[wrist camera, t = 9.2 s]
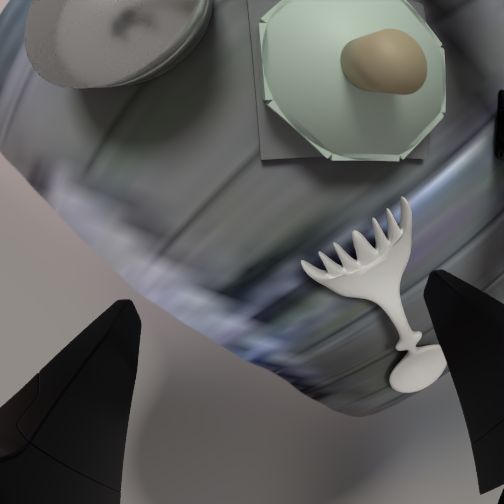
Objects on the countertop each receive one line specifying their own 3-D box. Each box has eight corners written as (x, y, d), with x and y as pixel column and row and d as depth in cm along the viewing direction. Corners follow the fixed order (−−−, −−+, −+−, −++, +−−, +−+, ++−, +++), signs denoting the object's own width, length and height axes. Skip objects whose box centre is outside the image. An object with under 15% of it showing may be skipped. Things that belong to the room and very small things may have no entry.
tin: (209, -57, 9) (200, -94, 4) (220, 69, 14) (211, 60, 10) (68, -14, 9) (29, -28, 5) (74, 104, 14) (30, 115, 10)
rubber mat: (418, 5, 11) (423, 4, 10) (422, 157, 17) (426, 159, 17) (245, -17, 11) (245, -20, 10) (260, 157, 17) (261, 160, 17)
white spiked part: (389, 179, 18) (413, 197, 16) (445, 359, 33) (454, 376, 30) (289, 243, 21) (297, 271, 18) (395, 388, 35) (402, 406, 32)
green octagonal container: (421, 7, 10) (472, -5, 6) (424, 155, 16) (474, 182, 12) (251, -17, 10) (256, -57, 6) (266, 154, 17) (277, 183, 12)
